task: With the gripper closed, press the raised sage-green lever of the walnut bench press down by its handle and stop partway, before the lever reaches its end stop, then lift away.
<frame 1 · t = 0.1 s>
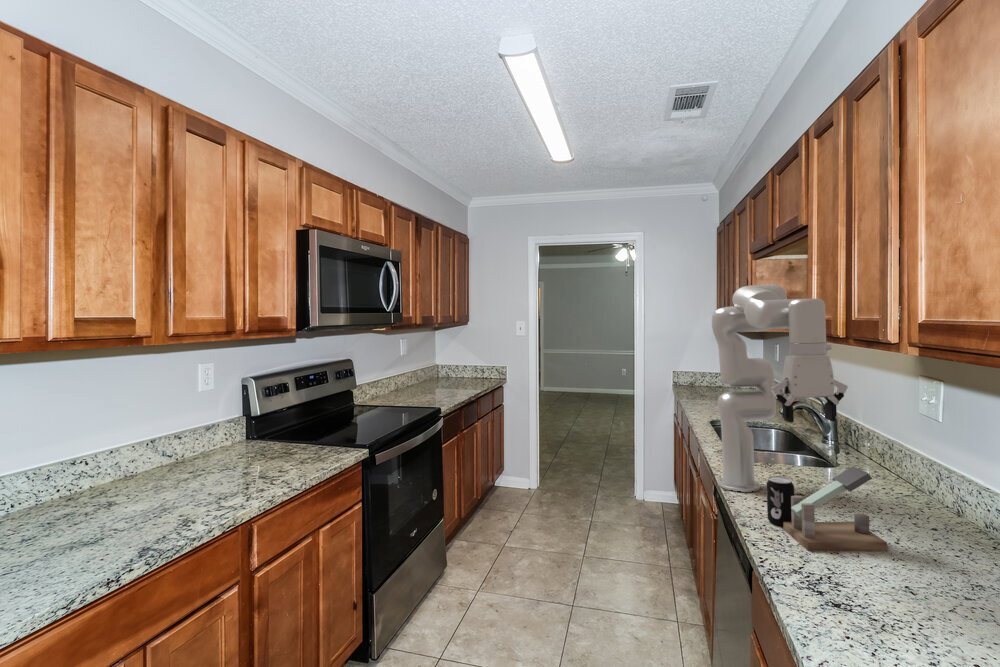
hand: (809, 420, 118), 31 cm above the worktop, tool pointing down, fingers open, 9 cm apart
beverage can: (781, 523, 134), on the worktop
press base: (832, 539, 123), on the worktop
press lever: (828, 492, 123), point 12 cm above the worktop, hinge at 32.0°
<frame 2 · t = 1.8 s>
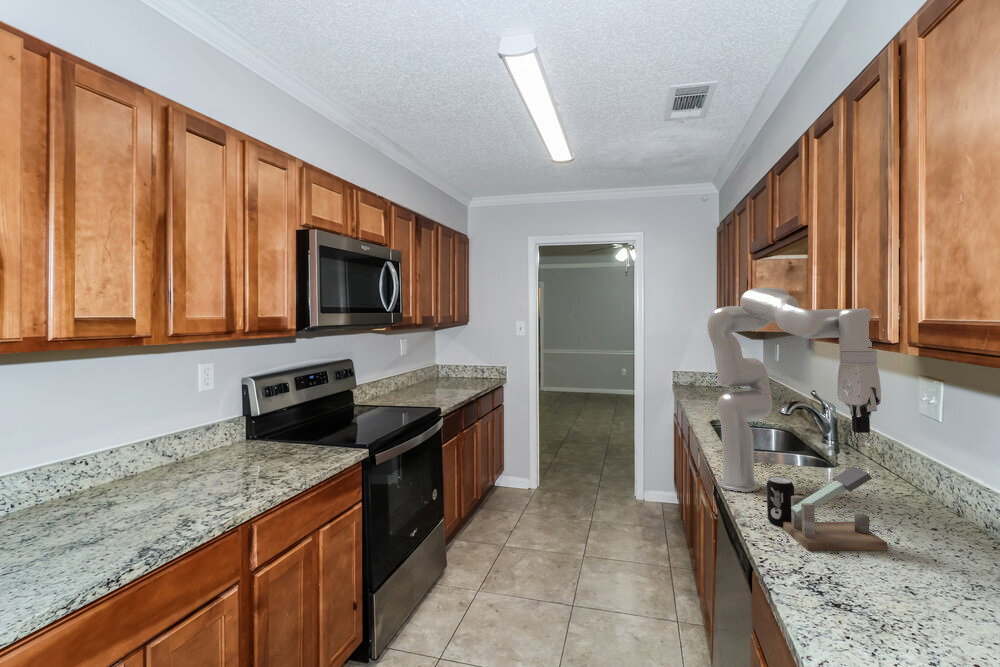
hand: (861, 432, 122), 27 cm above the worktop, tool pointing down, fingers closed
nothing on the worktop moved.
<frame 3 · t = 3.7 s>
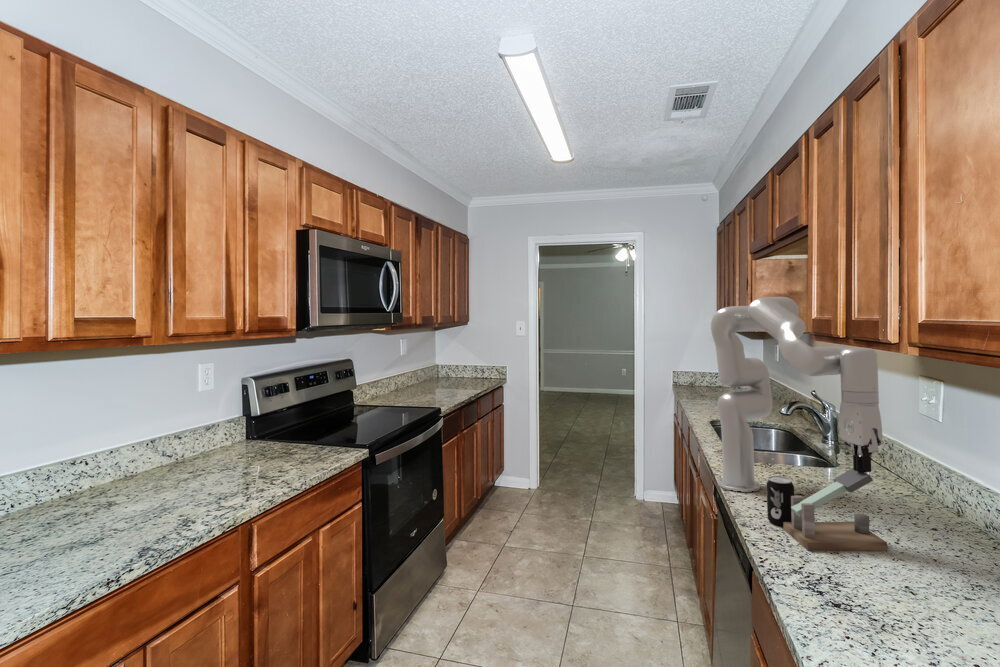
hand: (862, 471, 122), 17 cm above the worktop, tool pointing down, fingers closed
press lever: (829, 493, 123), point 12 cm above the worktop, hinge at 30.3°, touching gripper
everything else where it was.
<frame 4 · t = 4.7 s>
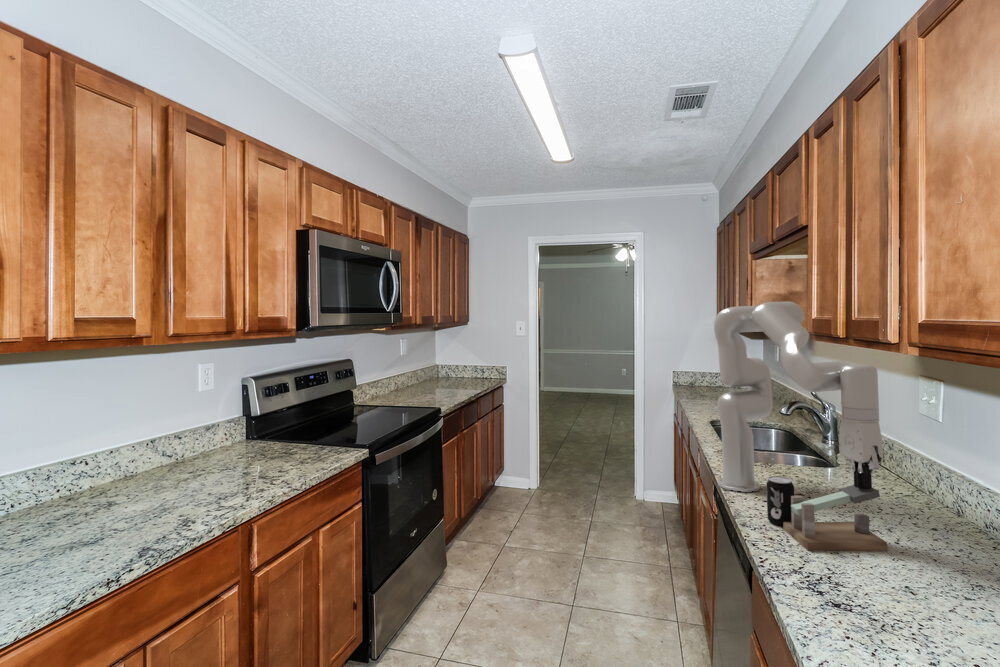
hand: (862, 487, 122), 13 cm above the worktop, tool pointing down, fingers closed
press lever: (832, 500, 123), point 10 cm above the worktop, hinge at 15.7°, touching gripper
everything else where it was.
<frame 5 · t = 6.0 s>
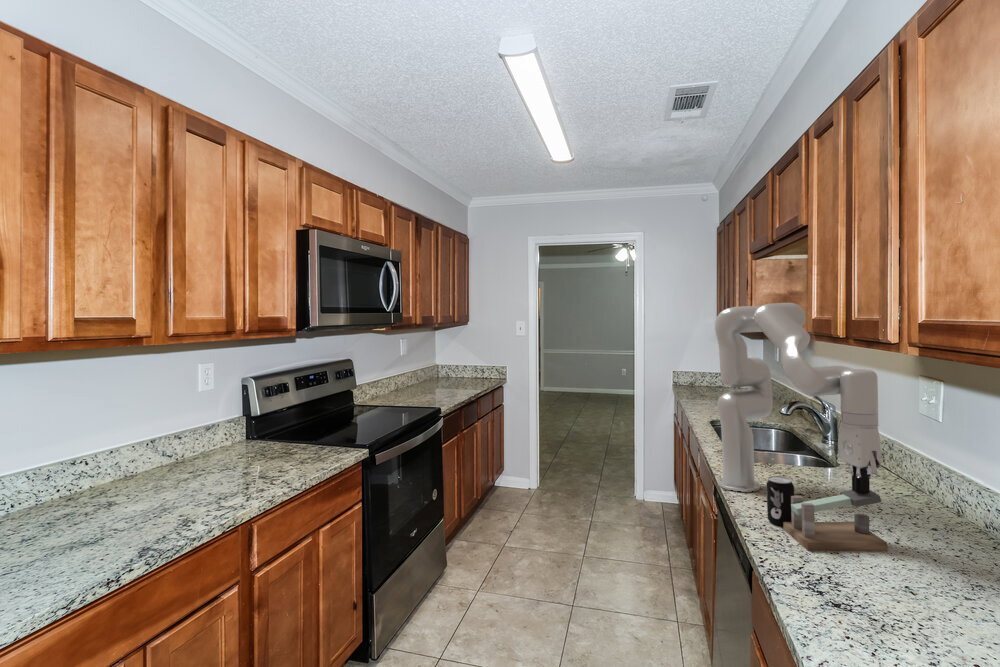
hand: (860, 491, 122), 12 cm above the worktop, tool pointing down, fingers closed
press lever: (833, 502, 123), point 9 cm above the worktop, hinge at 11.4°
everything else where it was.
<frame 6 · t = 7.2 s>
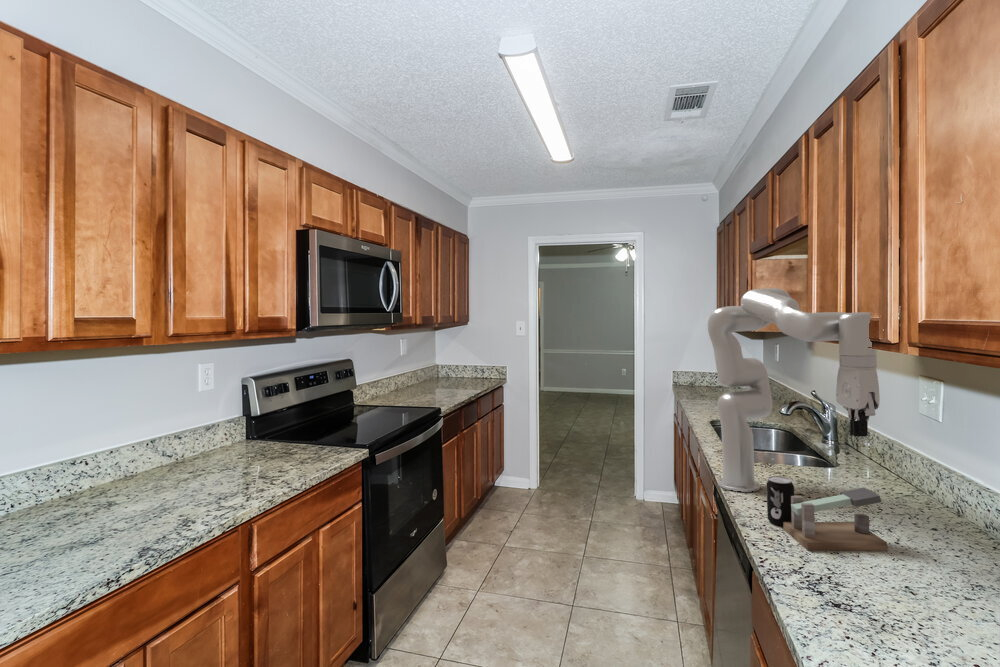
hand: (858, 435, 122), 26 cm above the worktop, tool pointing down, fingers closed
nothing on the worktop moved.
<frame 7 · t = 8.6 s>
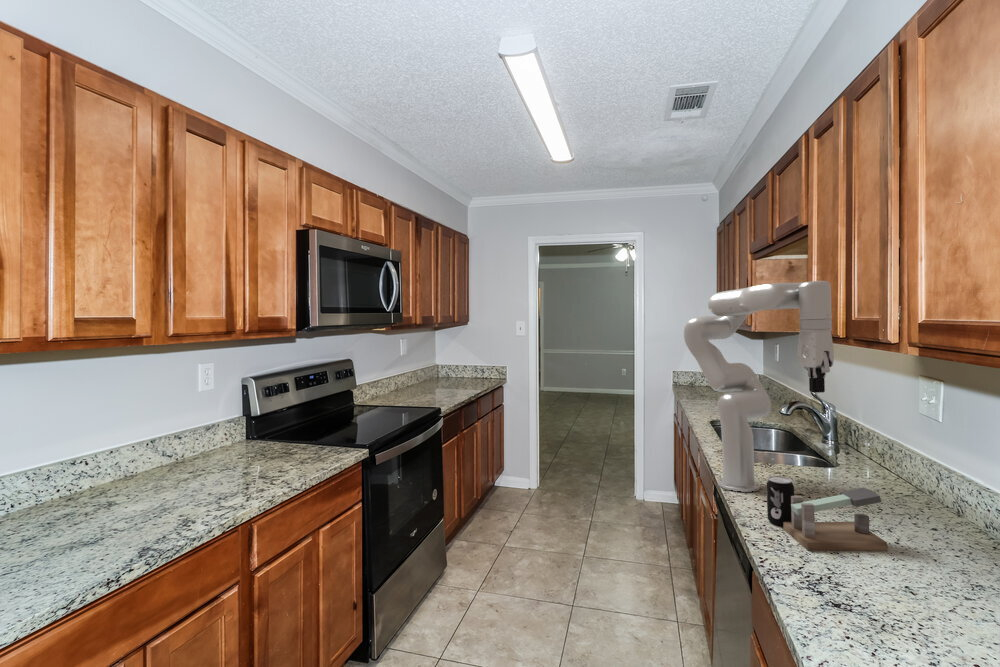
hand: (817, 391, 136), 35 cm above the worktop, tool pointing down, fingers closed
nothing on the worktop moved.
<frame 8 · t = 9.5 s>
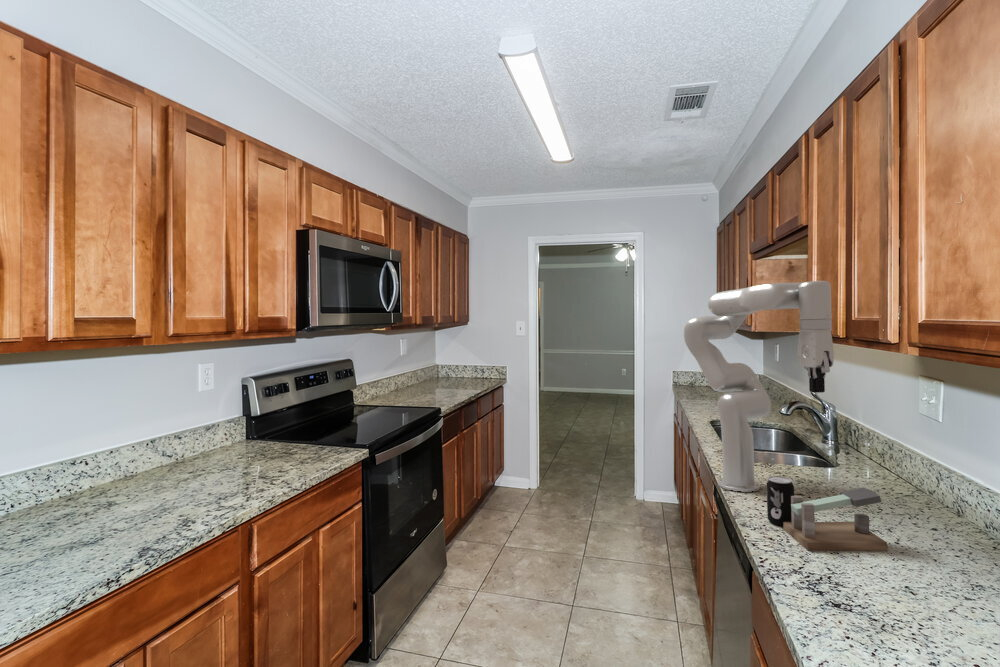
hand: (817, 391, 136), 35 cm above the worktop, tool pointing down, fingers closed
nothing on the worktop moved.
at the end: press lever at +11° (first picture: +32°); beverage can moved 0.2 cm from its start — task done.
